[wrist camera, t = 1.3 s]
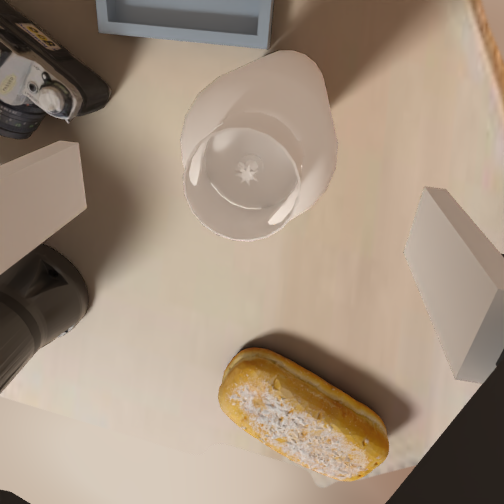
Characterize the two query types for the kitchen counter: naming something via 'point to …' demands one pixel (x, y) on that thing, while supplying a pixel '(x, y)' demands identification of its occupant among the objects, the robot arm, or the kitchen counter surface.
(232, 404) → the bread
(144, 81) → the kitchen counter surface
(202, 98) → the bottle
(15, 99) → the camera
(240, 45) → the tray
